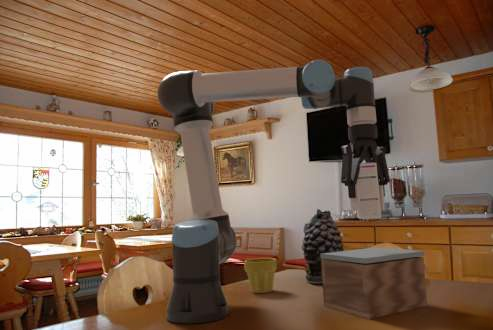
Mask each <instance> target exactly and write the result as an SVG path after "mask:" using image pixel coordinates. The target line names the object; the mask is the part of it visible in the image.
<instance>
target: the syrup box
mask: <svg viewBox="0 0 493 330" xmlns="http://www.w3.org/2000/svg"><path fill="white" fill-rule="evenodd" d="M354 166H355V165H354ZM355 186H359V192H360V206H361V211H356V213H357V219H359V220H378V219H382V210H381V205H380V194H379V184H378V175H377V164H376V163H366V162H362V163H360V171H359V175H358V179H357V183H356V185H355Z"/></svg>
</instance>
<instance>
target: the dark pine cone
mask: <svg viewBox="0 0 493 330" xmlns="http://www.w3.org/2000/svg"><path fill="white" fill-rule="evenodd" d="M313 215H314V216H312V217H310V220H309V221H308V223H307V222H306V223H304V227H303V233H304V237H303V239H302V244H301V250H303V251H302V252H303V253H302V254H303V259H305V263H306V264H305V265H304V271H305V273H306V275H305V279H306V281H307V283H309V284H310V283H312V284H323V281H322V264H321V259H322V258H321V257H320V254H323V253H332V252H341V251H346V250H345V249H344V246H345V244H344V243H343V242H342V241H343V236H341V234H342V232H341V231H340V230H339V226H338V223H336V222H335V221H334V219H333V217H332V213H331V211H330V210H325V211H322V209H319V208H318V209H316V213H315V214H313Z"/></svg>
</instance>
